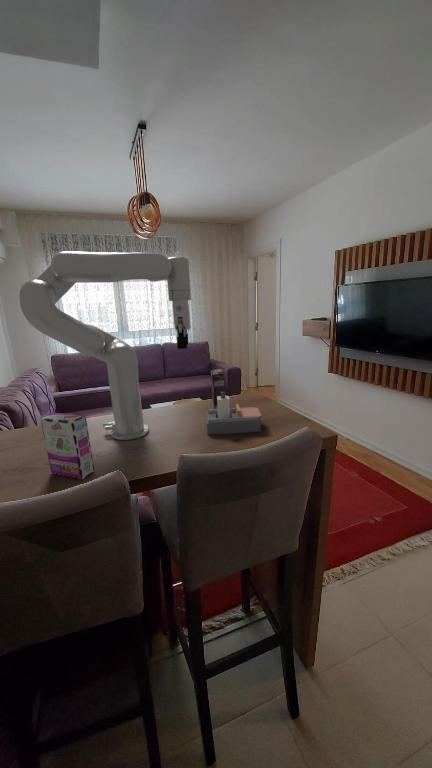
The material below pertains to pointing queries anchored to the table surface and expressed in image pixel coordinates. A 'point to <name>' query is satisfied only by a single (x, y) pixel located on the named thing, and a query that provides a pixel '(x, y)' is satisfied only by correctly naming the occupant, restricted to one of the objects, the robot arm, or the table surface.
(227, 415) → the plug
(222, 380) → the supplement box
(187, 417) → the table surface
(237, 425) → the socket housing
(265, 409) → the table surface
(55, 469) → the candy bar box
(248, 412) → the shutter
